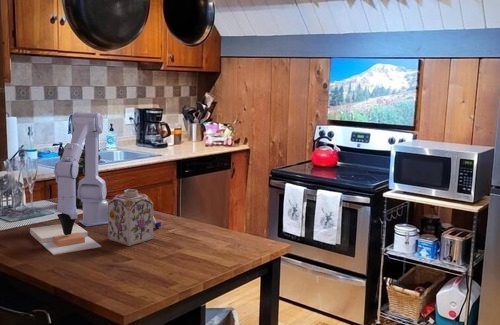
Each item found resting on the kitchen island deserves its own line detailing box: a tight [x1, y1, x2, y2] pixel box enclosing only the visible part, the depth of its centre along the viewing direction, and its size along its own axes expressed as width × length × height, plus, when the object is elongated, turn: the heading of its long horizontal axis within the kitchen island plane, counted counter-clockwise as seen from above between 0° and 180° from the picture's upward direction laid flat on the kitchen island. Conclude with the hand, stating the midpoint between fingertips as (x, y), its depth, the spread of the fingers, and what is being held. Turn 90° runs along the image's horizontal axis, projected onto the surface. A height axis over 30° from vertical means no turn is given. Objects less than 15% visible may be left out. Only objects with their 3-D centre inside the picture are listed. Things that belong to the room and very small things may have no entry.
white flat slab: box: [29, 222, 89, 245], centre depth 189 cm, size 16×14×2 cm
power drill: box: [59, 149, 102, 208], centre depth 230 cm, size 9×17×25 cm, turn 101°
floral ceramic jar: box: [107, 188, 154, 247], centre depth 187 cm, size 12×12×18 cm
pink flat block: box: [53, 232, 85, 247], centre depth 181 cm, size 9×6×2 cm, turn 128°
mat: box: [41, 236, 102, 256], centre depth 179 cm, size 16×12×1 cm
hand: (67, 234), depth 181 cm, fingers closed
